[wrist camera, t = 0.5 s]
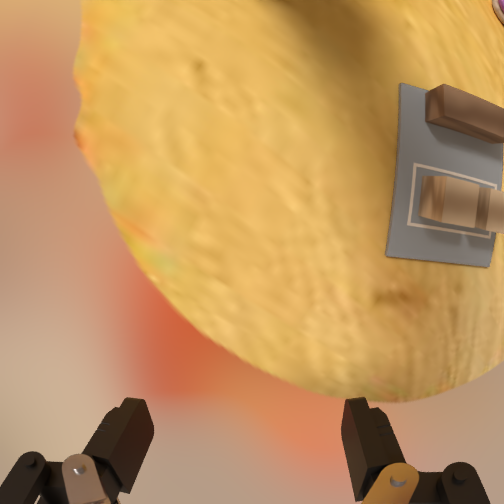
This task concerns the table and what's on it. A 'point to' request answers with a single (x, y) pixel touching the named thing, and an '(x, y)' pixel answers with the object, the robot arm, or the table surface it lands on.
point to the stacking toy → (499, 9)
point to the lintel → (464, 113)
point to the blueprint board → (437, 164)
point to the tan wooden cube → (449, 200)
